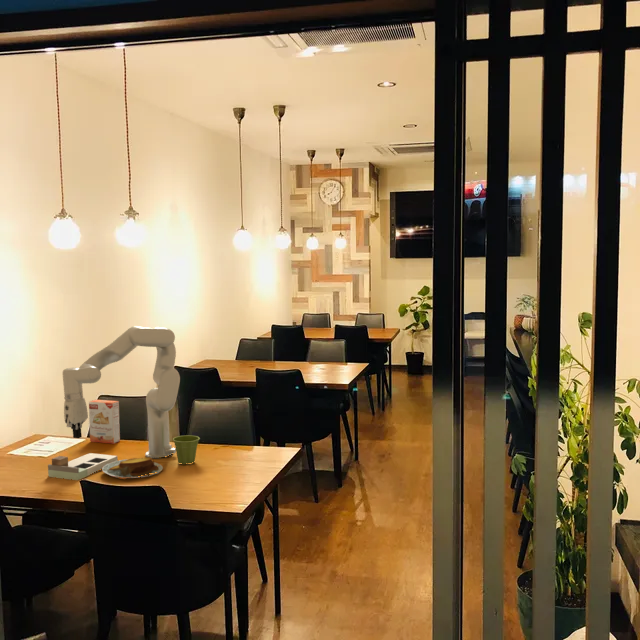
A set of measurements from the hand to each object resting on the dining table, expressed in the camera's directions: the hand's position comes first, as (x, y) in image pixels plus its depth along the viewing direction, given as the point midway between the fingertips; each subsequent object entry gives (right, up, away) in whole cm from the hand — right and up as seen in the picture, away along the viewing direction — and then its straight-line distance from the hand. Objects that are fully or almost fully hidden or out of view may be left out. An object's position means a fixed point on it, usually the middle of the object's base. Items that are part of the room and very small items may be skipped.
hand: (77, 437), depth 288 cm
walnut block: (-4, -12, -8) cm, 15 cm away
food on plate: (+25, -15, -5) cm, 30 cm away
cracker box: (-3, -11, +46) cm, 48 cm away
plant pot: (+46, -13, +8) cm, 49 cm away
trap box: (+3, -14, 0) cm, 14 cm away
